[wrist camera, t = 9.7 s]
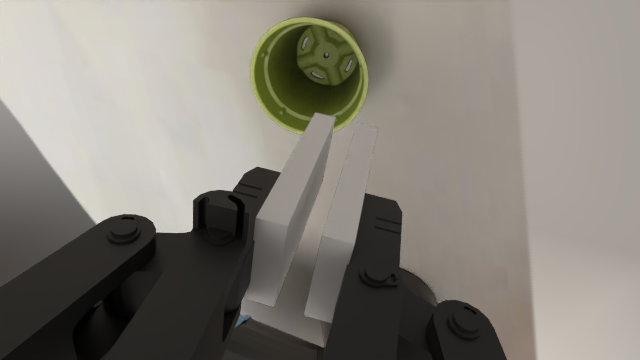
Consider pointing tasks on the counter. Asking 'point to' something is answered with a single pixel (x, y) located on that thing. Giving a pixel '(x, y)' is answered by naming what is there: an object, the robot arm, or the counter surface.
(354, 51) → the plant pot
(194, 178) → the counter surface
